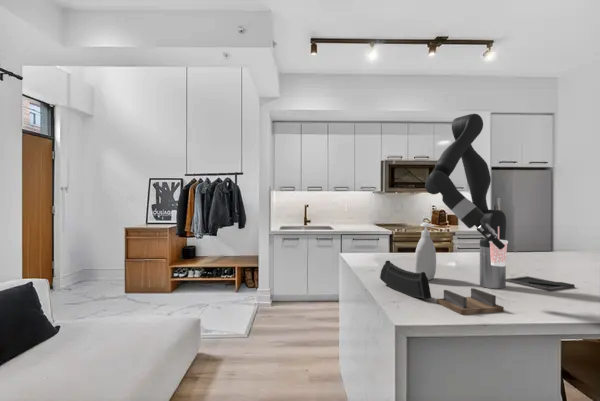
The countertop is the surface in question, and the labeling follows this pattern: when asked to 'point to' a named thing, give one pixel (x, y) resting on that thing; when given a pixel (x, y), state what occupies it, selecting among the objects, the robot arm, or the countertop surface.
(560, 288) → the picture frame
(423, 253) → the soap bottle
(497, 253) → the beverage cup
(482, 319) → the countertop surface
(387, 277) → the magazine
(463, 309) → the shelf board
